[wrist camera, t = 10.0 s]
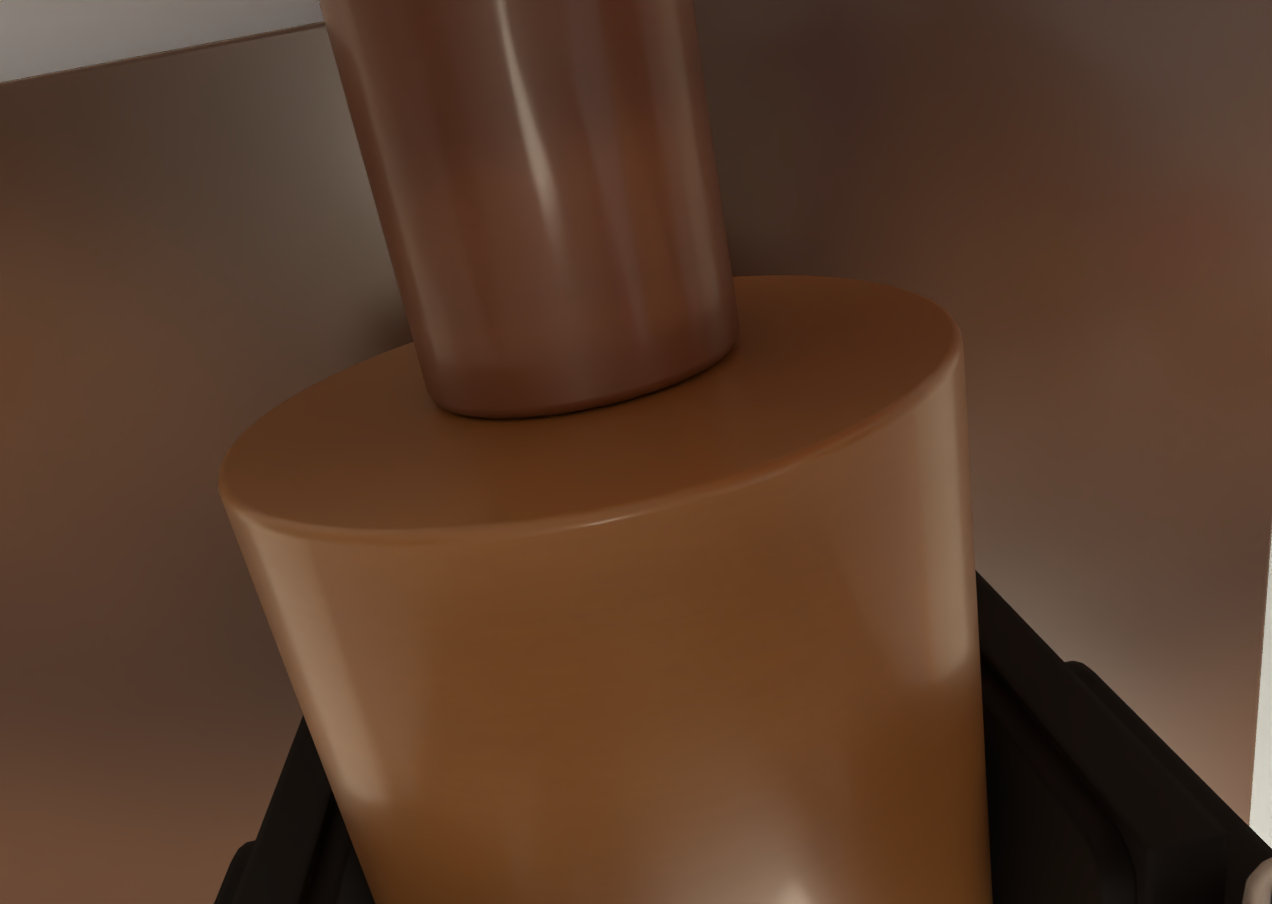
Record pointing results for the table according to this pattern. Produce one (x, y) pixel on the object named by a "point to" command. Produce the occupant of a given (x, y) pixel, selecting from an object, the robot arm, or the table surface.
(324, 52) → the pastry board
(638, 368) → the rolling pin
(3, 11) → the table surface
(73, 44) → the table surface
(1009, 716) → the robot arm
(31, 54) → the table surface
